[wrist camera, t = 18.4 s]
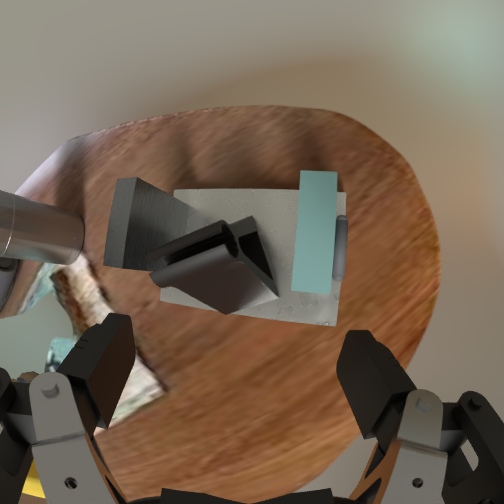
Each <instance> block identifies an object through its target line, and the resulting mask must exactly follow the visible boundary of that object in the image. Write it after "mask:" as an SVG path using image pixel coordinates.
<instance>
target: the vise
mask: <svg viewBox="0 0 504 504" xmlns="http://www.w3.org/2000/svg"><path fill="white" fill-rule="evenodd" d="M298 203H299V190H284V189H182V190H174V195H173V196H171V195H169V194H167V193H166V192H164V191H162V190H160V189H158V188H156V187H155V186H153V185H151V184H149V183H147V182H145V181H143V180H141V179H140V178H138V177H133V178H123V179H117V183H116V188H115V193H114V198H113V203H112V208H111V214H110V219H109V225H108V232H107V239H106V246H105V254H104V262H103V265H104V266H110V267H116V268H123V269H133V270H143V271H156V270H159V269H161V268H164V267H166V266H167V262H165V261H164V259H162V257H161V258H158V259H156V260H154V261H151V262H149V263H148V262H146V256H147V254H148V252H149V251H150V250H153V249H155V248H157V247H159V246H161V245H164V244H166V243H168V242H170V241H173V240H175V239H177V238H180V237H182V236H184V235H187V234H189V233H191V232H193V231H196V230H198V229H201V228H203V227H205V226H208V225H210V224H212V223H215V222H217V221H220V220H224V221H226V222H227V223H228V224H231V223H234V222H236V221H239V220H241V219H244V218H246V217H249V216H251V215H252V216H253V218H254V221H255V224H256V227H257V230H258V233H259V236H260V239H261V242H262V245H263V248H264V251H265V255H266V258H267V261H268V264H269V267H270V270H271V273H272V276H273V279H274V282H275V285H276V288H277V292H278V295H279V298H278V299H275V300H271V301H268V302H265V303H262V304H259V305H256V306H253V307H249V308H246V309H243V310H239V311H236V312H233V313H232V314H239V315H245V316H252V317H259V318H266V319H274V320H282V321H290V322H299V323H308V324H317V325H327V326H336V321H337V313H338V305H339V296H340V286H341V281H339V282H337V281H335V280H333V278H332V280H331V290H330V294H321V293H311V292H300V291H291V284H292V274H293V263H294V253H295V241H296V229H297V217H298ZM345 213H346V193H345V192H337V205H336V218H337V216H339V215H345ZM160 301H164V302H169V303H175V304H180V305H185V306H191V307H196V308H202V309H208V310H213V311H217V310H215V309H213V308H212V307H210V306H208V305H206V304H204V303H202V302H200V301H199V300H197V299H195V298H193V297H191V296H189V295H188V294H186V293H184V292H182V291H181V290H179V289H177V288H174V287H166V288H161V296H160Z"/></svg>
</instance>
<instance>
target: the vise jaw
mask: <svg viewBox="0 0 504 504" xmlns="http://www.w3.org/2000/svg"><path fill="white" fill-rule="evenodd" d="M336 205H337V172H327V171H302V170H301V172H300V188H299V203H298V217H297V229H296V241H295V253H294V263H293V274H292V284H291V291H300V292H311V293H321V294H330V290H331V280H332V278H333V280H335V281H337V282H339V281H342V280H343V278H344V276H345V264H346V250H347V233H348V219H347V217H346V216H345V215H339V216H337V218H336Z"/></svg>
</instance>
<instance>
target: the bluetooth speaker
mask: <svg viewBox="0 0 504 504" xmlns="http://www.w3.org/2000/svg"><path fill="white" fill-rule="evenodd" d="M17 267H18V259H14V258H7V257H0V311H1V309H2V306H3V304H4V303H6V302H7V300H8V297H9V295H10V293H11V290H12V288H13V285H14V282H15V279H14V276H15V273H16V270H17Z"/></svg>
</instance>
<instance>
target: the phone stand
mask: <svg viewBox="0 0 504 504" xmlns="http://www.w3.org/2000/svg"><path fill="white" fill-rule="evenodd" d="M161 257H162V259H164V261H165V262H167V266H166V267H164V268H161V269H159V270H156V271H154V272H152V273H149V275H150V277H151V279H152V280H153V282H154V283H155V284H156V285H157V286H159V287H161V288H166V287H174V288H177V289H179V290H181V291H182V292H184V293H186V294H188V295H189V296H191V297H193V298H195V299H197V300H199V301H200V302H202V303H204V304H206V305H208V306H210V307H212V308H213V309H215V310H217V311H219V312H221V313H223V314H225V315H226V314H230V313H233V312H236V311H239V310H243V309H246V308H249V307H253V306H256V305H259V304H262V303H265V302H268V301H271V300H275V299H278V298H279V295H278V292H277V288H276V285H275V282H274V279H273V276H272V273H271V270H270V267H269V264H268V261H267V258H266V255H265V251H264V248H263V245H262V242H261V239H260V236H259V233H258V230H257V227H256V224H255V221H254V218H253V216H252V215H251V216H249V217H246V218H244V219H241V220H239V221H236V222H234V223H231V224H228V223H227V222H226V221H224V220H220V221H217V222H215V223H212V224H210V225H208V226H205V227H203V228H201V229H198V230H196V231H193V232H191V233H189V234H187V235H184V236H182V237H180V238H177V239H175V240H173V241H170V242H168V243H166V244H164V245H161V246H159V247H157V248H155V249H153V250H150V251H149V252H148V254H147V256H146V262H148V263H149V262H151V261H154V260H156V259H158V258H161Z"/></svg>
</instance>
